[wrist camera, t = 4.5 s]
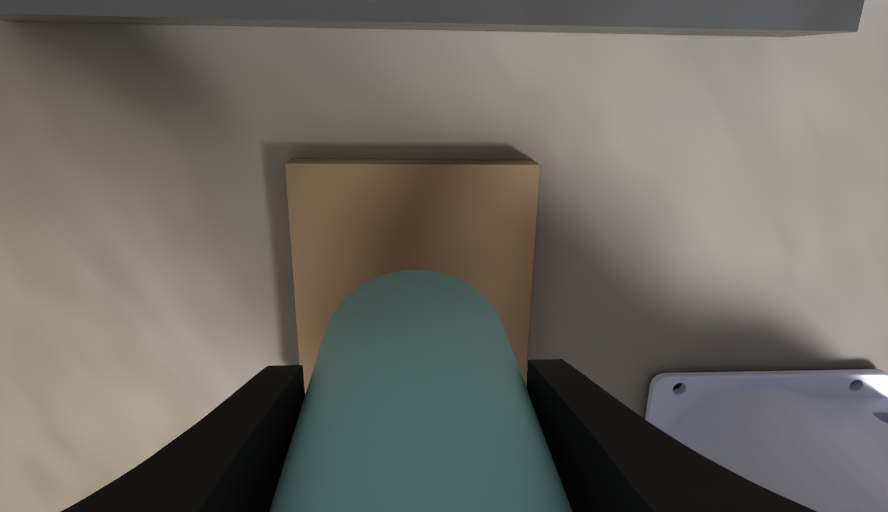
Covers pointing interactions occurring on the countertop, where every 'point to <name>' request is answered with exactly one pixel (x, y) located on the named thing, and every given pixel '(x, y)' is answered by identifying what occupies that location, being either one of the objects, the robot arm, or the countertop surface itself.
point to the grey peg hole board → (468, 15)
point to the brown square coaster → (411, 234)
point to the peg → (417, 409)
